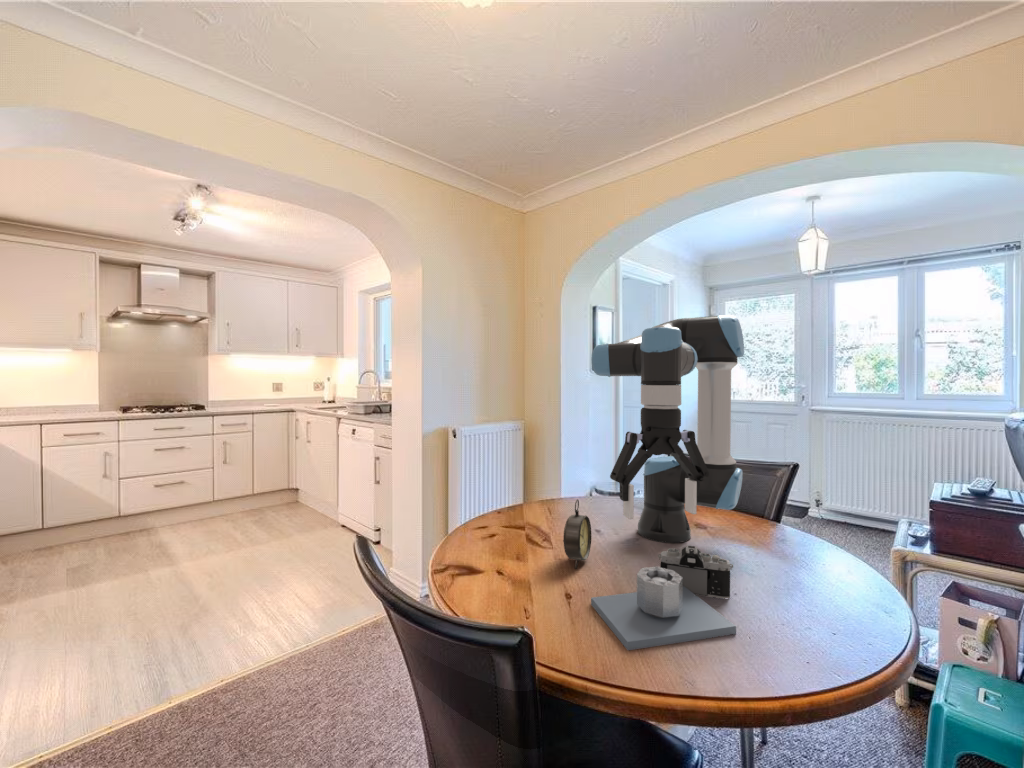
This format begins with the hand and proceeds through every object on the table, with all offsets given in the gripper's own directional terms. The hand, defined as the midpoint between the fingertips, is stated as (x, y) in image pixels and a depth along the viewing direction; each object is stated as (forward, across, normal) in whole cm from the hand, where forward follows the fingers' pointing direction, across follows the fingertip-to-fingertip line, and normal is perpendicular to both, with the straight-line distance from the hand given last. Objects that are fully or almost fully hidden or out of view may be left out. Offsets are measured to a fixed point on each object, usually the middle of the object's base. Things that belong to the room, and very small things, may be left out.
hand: (660, 514), depth 88 cm
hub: (+18, 0, 0) cm, 18 cm away
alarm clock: (+21, +6, -29) cm, 36 cm away
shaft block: (+20, 0, 0) cm, 21 cm away
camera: (+21, -15, -10) cm, 27 cm away
